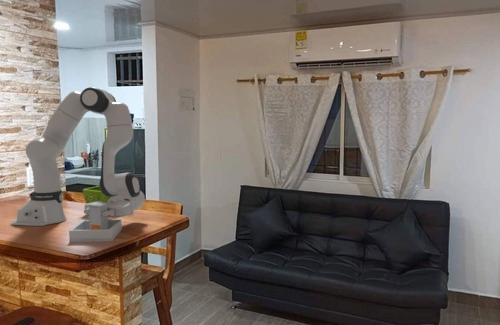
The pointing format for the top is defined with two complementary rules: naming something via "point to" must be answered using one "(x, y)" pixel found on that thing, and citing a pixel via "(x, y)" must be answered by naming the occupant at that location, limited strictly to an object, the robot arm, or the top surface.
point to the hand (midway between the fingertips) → (94, 213)
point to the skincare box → (98, 216)
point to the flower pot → (94, 195)
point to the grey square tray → (94, 232)
